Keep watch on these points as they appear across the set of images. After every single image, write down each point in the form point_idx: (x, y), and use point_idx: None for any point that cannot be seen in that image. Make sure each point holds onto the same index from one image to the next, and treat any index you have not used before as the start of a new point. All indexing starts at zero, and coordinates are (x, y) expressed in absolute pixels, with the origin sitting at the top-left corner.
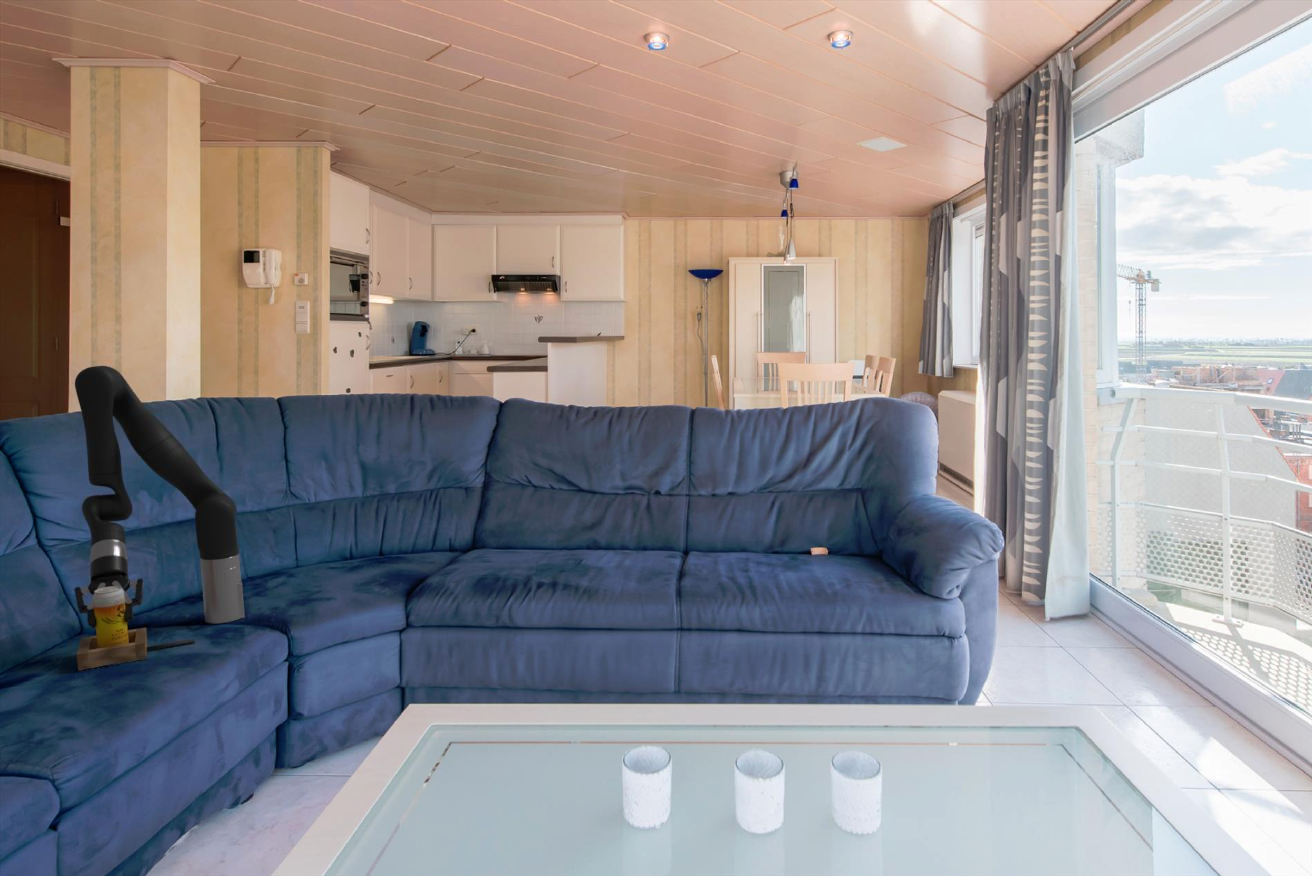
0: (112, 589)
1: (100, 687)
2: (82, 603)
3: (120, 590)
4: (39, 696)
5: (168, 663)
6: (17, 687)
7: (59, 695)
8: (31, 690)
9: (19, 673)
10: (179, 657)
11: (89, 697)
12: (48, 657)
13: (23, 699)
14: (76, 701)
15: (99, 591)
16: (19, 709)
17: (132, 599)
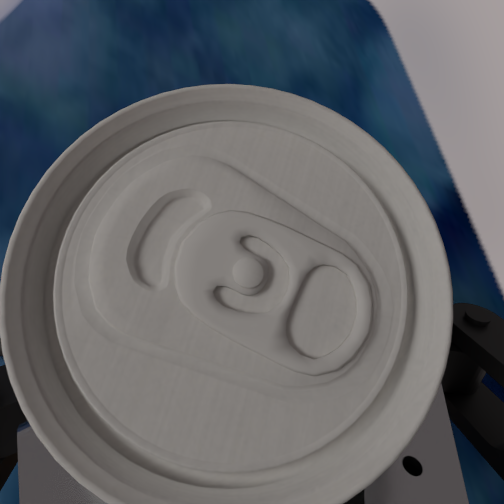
0: (170, 284)
1: (223, 63)
2: (486, 342)
3: (42, 206)
4: (356, 78)
5: (47, 158)
6: (437, 170)
7: (310, 61)
8: (391, 129)
9: (485, 296)
10: (8, 200)
11: (237, 14)
12: (461, 445)
13: (387, 77)
14: (261, 6)
15: (370, 273)
16: (372, 23)
17: (14, 397)
